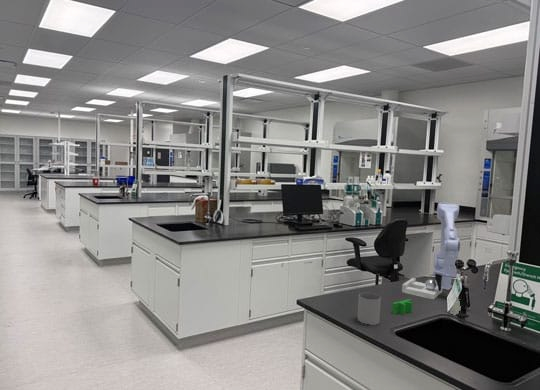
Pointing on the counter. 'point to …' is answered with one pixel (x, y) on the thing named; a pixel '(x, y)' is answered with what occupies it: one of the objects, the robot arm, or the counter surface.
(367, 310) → the cup
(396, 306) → the pipe clamp
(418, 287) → the deck
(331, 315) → the counter surface
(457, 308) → the valve
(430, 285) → the ball
